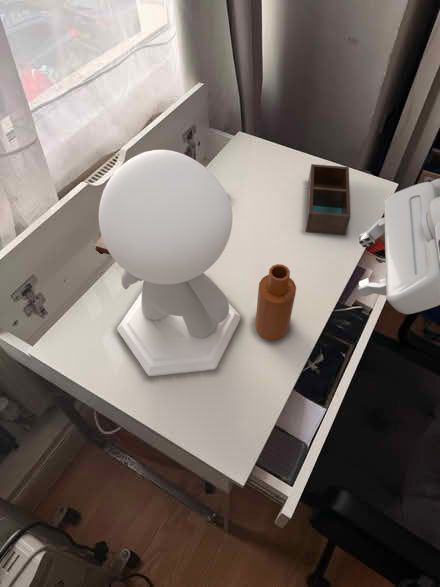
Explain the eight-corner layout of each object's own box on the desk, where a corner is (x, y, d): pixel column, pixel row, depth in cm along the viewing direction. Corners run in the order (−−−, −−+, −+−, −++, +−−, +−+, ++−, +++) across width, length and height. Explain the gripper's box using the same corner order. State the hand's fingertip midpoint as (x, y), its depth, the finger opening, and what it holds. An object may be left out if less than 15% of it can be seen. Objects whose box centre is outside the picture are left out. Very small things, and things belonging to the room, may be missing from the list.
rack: (343, 186, 102) (348, 166, 98) (344, 235, 93) (350, 216, 89) (307, 183, 103) (311, 164, 99) (305, 231, 94) (309, 213, 90)
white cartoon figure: (252, 295, 84) (262, 137, 56) (201, 398, 72) (182, 263, 44) (162, 264, 89) (130, 105, 61) (100, 356, 77) (24, 210, 49)
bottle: (288, 314, 82) (299, 259, 69) (287, 342, 78) (298, 289, 65) (257, 311, 82) (262, 255, 69) (253, 338, 79) (258, 285, 66)
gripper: (440, 158, 59) (350, 203, 68) (457, 272, 47) (346, 308, 56) (460, 188, 62) (371, 228, 71) (481, 302, 50) (372, 332, 59)
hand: (360, 264), depth 64 cm, fingers open, 8 cm apart
